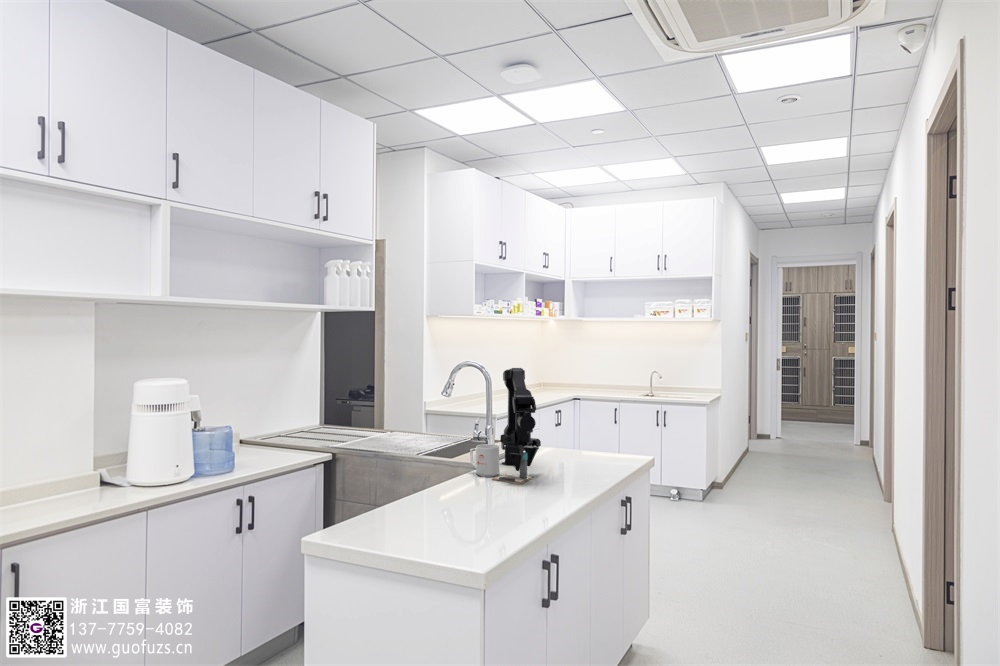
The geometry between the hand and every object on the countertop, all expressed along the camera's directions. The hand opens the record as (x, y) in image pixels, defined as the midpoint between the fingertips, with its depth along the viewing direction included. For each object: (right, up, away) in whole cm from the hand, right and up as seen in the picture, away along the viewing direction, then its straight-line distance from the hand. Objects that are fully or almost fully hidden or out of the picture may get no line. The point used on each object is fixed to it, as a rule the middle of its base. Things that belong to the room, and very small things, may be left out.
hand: (523, 468), depth 251 cm
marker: (0, -4, 0) cm, 4 cm away
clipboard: (-4, -4, 0) cm, 6 cm away
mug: (-15, -4, +8) cm, 18 cm away
